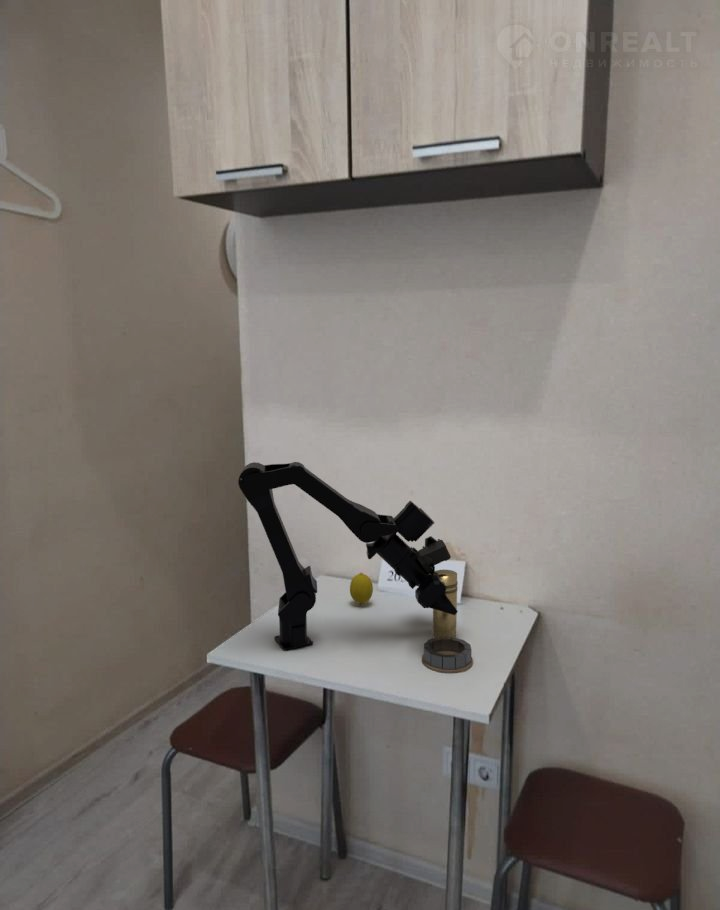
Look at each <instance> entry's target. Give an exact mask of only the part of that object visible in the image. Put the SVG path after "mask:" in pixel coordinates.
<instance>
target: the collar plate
mask: <svg viewBox="0 0 720 910" xmlns="http://www.w3.org/2000/svg"><path fill="white" fill-rule="evenodd" d="M437 653H440V654H445V655H454V654H458V653H456V652H452V651H439V652H437ZM473 661H474V659H473V656H471V663H470V664H469V665H468V666H467V667H464V668H461V669H457V670H443V669H438V668H435V667H432V666H430V665H428V664H427V663H426V662H425V661H424V653H423V654H422V655H421V663H422V664H423V666H425V668H427V669H429V670H431V671H433V672H437V673H443V674H457V673H458V672H459V673H463V672H466V671H467V669H468V670H470V667H471V668H472V666H473V665H472V664H474V663H473ZM465 670H466V671H465ZM462 671H463V672H462Z"/></svg>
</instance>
